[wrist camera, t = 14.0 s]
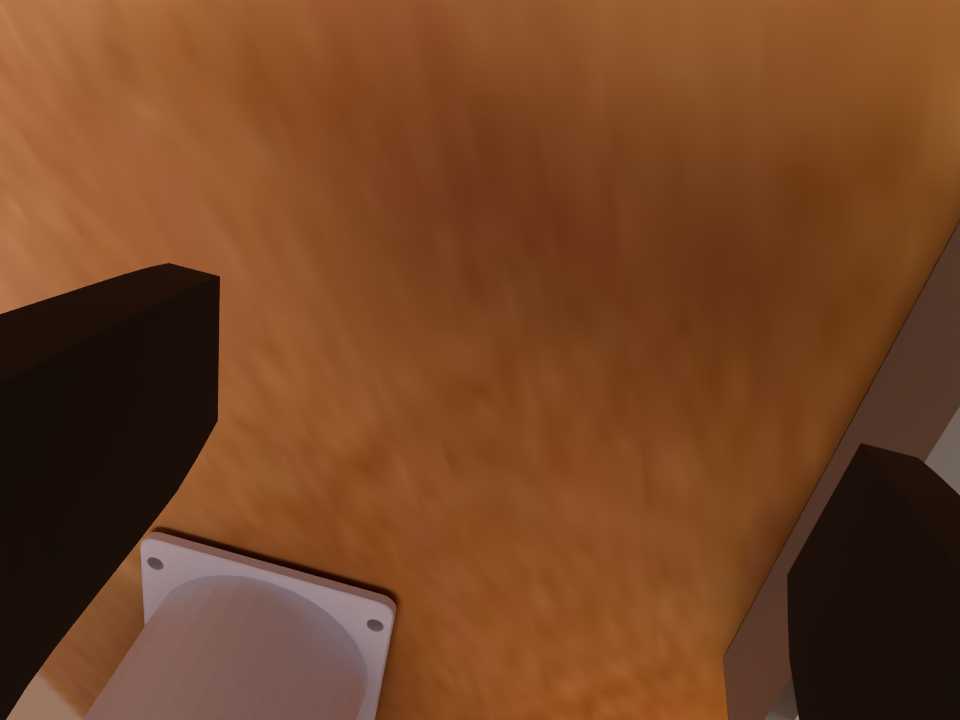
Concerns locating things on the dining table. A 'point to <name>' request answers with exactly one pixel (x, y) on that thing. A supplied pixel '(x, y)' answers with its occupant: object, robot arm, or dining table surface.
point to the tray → (878, 422)
